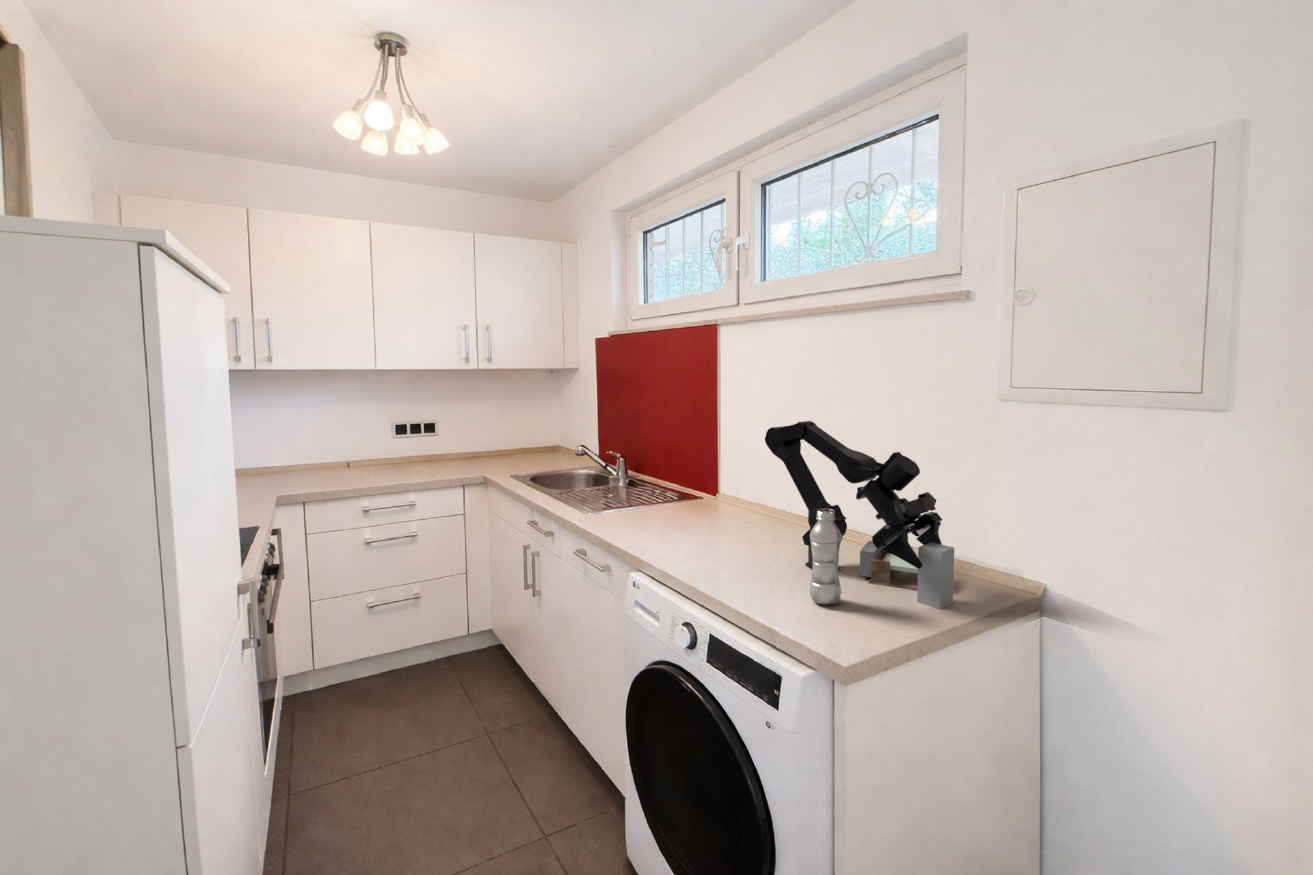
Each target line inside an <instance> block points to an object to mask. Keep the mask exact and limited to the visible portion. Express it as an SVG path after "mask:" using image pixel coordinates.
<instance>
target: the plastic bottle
mask: <svg viewBox="0 0 1313 875" xmlns="http://www.w3.org/2000/svg"><path fill="white" fill-rule="evenodd" d="M816 519H817V520H818V522H817V523H816V524H815V526H814V527H813V528H812V530H811V533H810V541H811V548H812V559H813V569H811V580H810V585H809V594H810V598H811V599H812V601H813V602H814V603H816V604H819V605H824V606H825V605H826V606H829V605H830V606H831V605H835V604H838V602H839V601H840V599H841V595H842V589H841V588H842V586H841V583H840V573H839V571H840V570H838V567H839V565H838V560H840V559H839V557H840V556H839V555H840V550H841V549H840V548H841V543H842V540H841V534H840V531H839V529H838V527H837V526H836V525H835V523H834V520H835V512H834V510H832V509H819V510H817V517H816Z"/></svg>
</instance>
